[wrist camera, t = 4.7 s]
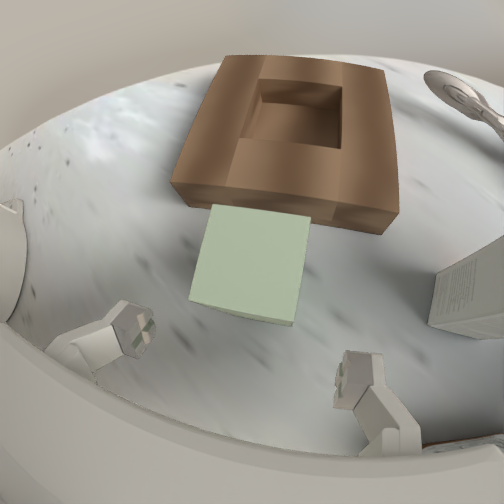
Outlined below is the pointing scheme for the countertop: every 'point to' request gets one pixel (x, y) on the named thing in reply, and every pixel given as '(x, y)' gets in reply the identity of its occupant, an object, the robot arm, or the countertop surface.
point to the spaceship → (464, 99)
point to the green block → (251, 263)
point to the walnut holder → (294, 142)
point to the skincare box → (472, 295)
